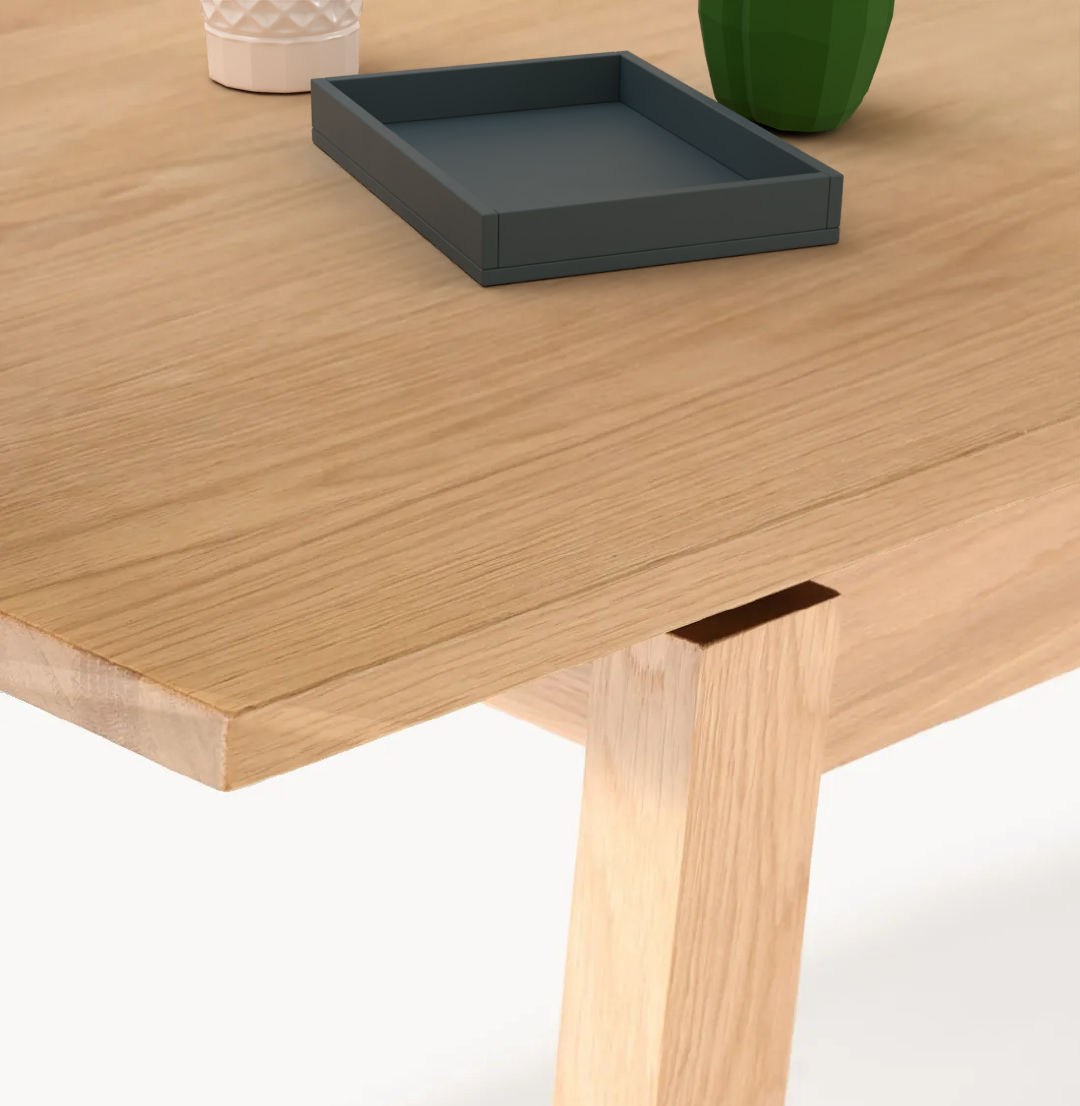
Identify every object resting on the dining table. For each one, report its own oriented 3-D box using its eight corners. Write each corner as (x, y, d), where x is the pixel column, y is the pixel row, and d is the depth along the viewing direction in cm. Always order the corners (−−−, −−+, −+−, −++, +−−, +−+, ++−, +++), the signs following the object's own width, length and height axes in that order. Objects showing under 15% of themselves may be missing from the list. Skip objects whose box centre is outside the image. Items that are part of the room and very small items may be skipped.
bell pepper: (712, 86, 113) (724, -148, 108) (896, 102, 111) (916, -136, 106) (670, 136, 106) (680, -112, 101) (866, 154, 104) (885, -98, 99)
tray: (482, 287, 89) (482, 214, 87) (311, 141, 104) (309, 78, 103) (839, 243, 94) (844, 174, 92) (625, 110, 109) (627, 49, 108)
